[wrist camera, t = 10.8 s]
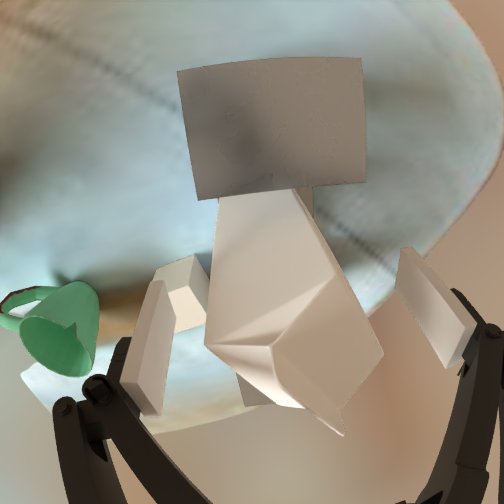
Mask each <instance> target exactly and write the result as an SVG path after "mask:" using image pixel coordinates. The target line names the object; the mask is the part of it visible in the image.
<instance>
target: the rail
mask: <svg viewBox="0 0 504 504" xmlns="http://www.w3.org/2000/svg"><path fill="white" fill-rule="evenodd" d="M177 77H178V84H179V91H180V98H181V104H182V111H183V117H184V124H185V130H186V136H187V142H188V148H189V154H190V159H191V165H192V171H193V176H194V182H195V187H196V193H197V198H198V201H199V200H206V199H213V198H218V204H219V198H220V197H228V196H235V195H243V194H251V193H259V192H267V191H276V190H285V189H295V191H296V192H297V194H298V195H299V197H300V198H301V200H302V202H303V203H304V205H305V206H306V208H307V210H308V211H309V213H310V215H311V216H312V218H313V192H312V187H315V186H326V185H338V184H350V183H364V182H366V122H365V101H364V85H363V73H362V62H361V58H342V57H293V58H273V59H260V60H249V61H239V62H231V63H223V64H216V65H210V66H203V67H197V68H192V69H186V70H181V71H177ZM236 375H237V379H238V383H239V386H240V390H241V394H242V398H243V402H244V405H245V407H246V406H256V405H265V404H274V403H275V402H274V401H273V400H271V399H270V398H269V397H267V396H266V395H265V394H263V393H262V392H261V391H259V390H258V389H257V388H256V387H254V386H253V385H252V384H250V383H249V382H248V381H247V380H245V379H244V378H243V377H242V376H240V375H239V374H238V373H237V372H236Z"/></svg>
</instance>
